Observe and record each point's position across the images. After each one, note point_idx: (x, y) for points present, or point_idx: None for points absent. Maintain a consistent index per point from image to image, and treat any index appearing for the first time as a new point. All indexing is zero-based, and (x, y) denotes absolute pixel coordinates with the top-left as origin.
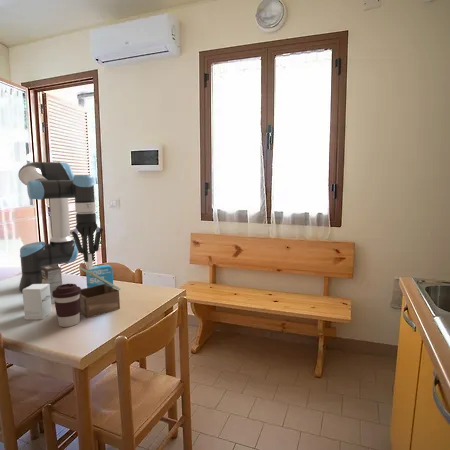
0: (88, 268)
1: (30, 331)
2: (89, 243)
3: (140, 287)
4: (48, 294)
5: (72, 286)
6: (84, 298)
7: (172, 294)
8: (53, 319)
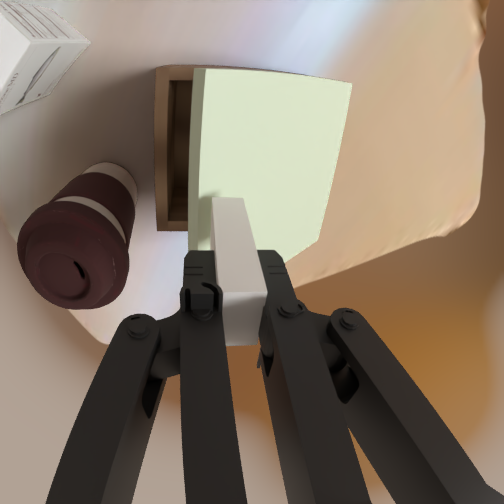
0: (210, 237)
1: (14, 171)
2: (286, 434)
3: (461, 81)
4: (44, 60)
5: (84, 302)
6: (156, 215)
7: (445, 219)
8: (75, 119)
